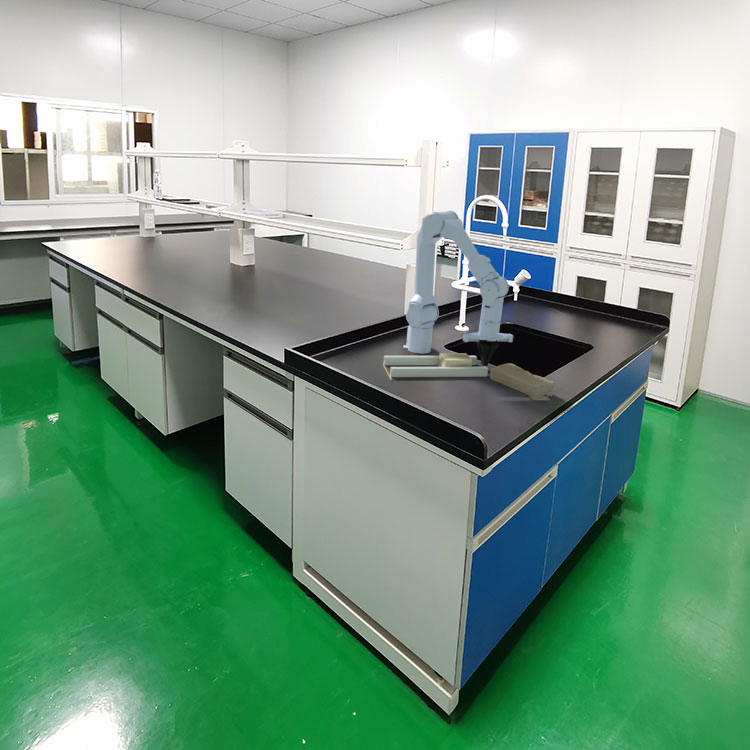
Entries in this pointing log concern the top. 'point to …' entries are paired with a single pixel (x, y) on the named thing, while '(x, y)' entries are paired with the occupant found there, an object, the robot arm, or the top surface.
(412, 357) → the chute
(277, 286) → the top surface
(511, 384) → the brick
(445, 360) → the block
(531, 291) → the top surface
